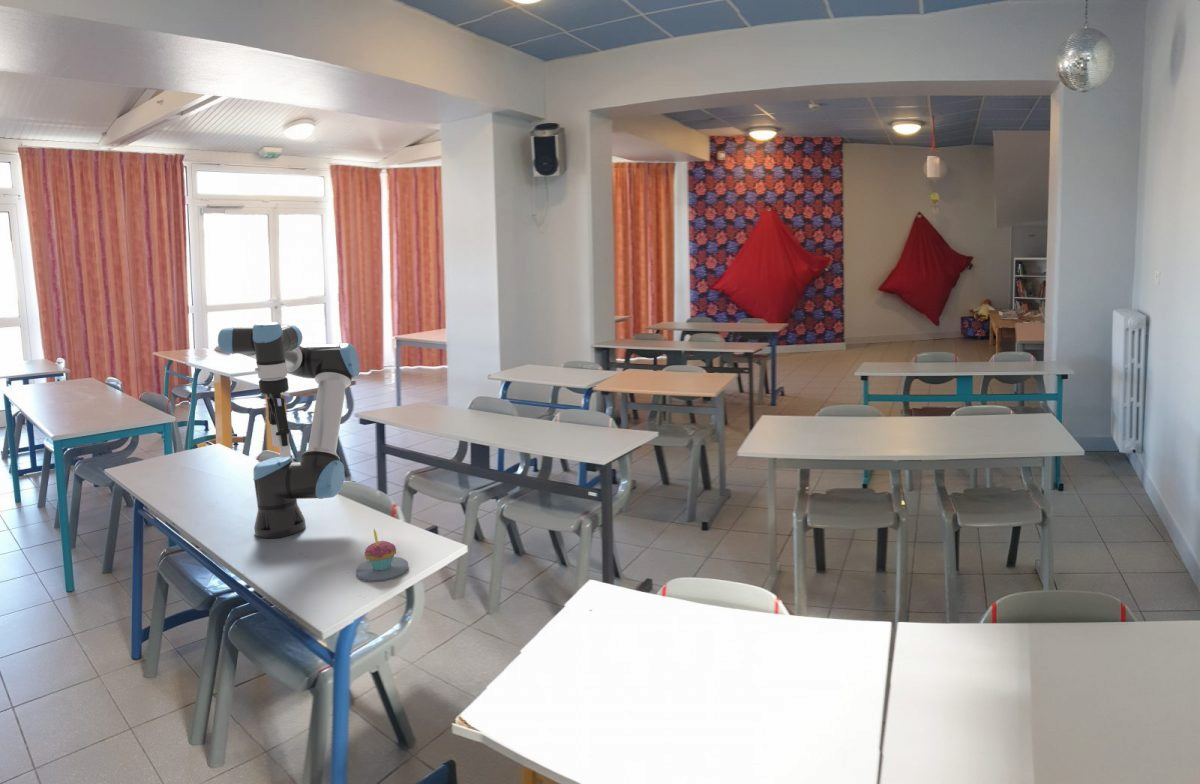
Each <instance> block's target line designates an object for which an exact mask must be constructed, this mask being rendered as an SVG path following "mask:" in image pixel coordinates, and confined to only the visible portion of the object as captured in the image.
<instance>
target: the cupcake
mask: <svg viewBox="0 0 1200 784" xmlns="http://www.w3.org/2000/svg"><path fill="white" fill-rule="evenodd" d="M373 535H374V542H373V543H371V544H369V545H368V546H367V547H365V550H364V557H365V559H366V561H370V563H371V565H372V567H373V569H374V570H386V569H388V568H390V566H391V562H392V559H393V557H395V555H396V554H397V548H396V545H395V544H394V543H391V542H389V541H386V540H380V541H379V539H378V534H377V530H376V529H375V528H373Z"/></svg>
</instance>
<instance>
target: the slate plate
mask: <svg viewBox="0 0 1200 784" xmlns="http://www.w3.org/2000/svg"><path fill="white" fill-rule="evenodd" d="M408 571H409V562H408V560H406V559H405V558H402V557H399V556H394V557H393V559H392V562H391V566H390V568H388V569H386V570H374V569H373V567H372V565H371V563H370V561H369V560H366V561H364V562H362V563H361V564H359V565H358V566H357V567H356V570H355V574H356V577H357V579H359V580H360V581H363V582H366V583H367V582H368V583H380V582H387V581H391V580H394V579H397V578H399V577H402V576H403V575H405V574H406V573H407V572H408Z"/></svg>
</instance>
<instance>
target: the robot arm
mask: <svg viewBox="0 0 1200 784" xmlns="http://www.w3.org/2000/svg"><path fill="white" fill-rule="evenodd" d="M302 341H303V333H302V331H301V330H300V328H298V327H297V326H296V325H294V324H289V323H288V324H282V325H281V323H279V322H277V321H276V322H275V321H268V322H267V321H266V322H261V323H255V324H254V325H253V326H249V327H248V326H246V327H244V326H243V327H242V326H241V327H239V326H238V327H234V326H232V327H224V328H222V329H221V330H220V331H219V333H218V335H217V344H218V348H219V349H220V351H221V352H222V353H223V354H232V355H235V354H240V355H243V356H245V357H249V358H252V359H255V360H256V366H257V367H255V368H254V371H255V372H257V377H258V379H259V380H258V387H259V388H258V389H259V393H260V394H262V395H266V397H267V399H266V401H267V411H268V413H267V415H268V421H269V424H270V425H269V426H270V433H271V434H270V435H271V443H272V447H273V448H279V456H275V457H270V458H268V459H266V460H262V461H260V462H258V463H256V465H254V466H253V482H254V490H255V497H256V504H257V512H256V517H255V522H254V534H255V536H256V537H259V538H262V539H276V538H277V539H278V538H283V537H288V536H292V535H294V534H298V533H300V532H301V531H303V530H304V529H305V528H306V518H305V516H304V514H303V512H302V511H301V509H300V506H299V505H298V500H303V499H304V500H305V499H307V500H308V499H320V500H323V499H330V498H334V497H336V496H337V495H338V494H340V491H342V487H343V484H344V482H345V475H346V474H345V470H346V469H345V465H344V463H343V462H342V461H341V458H340V456H339V455H338V454H337V449H338V448H337V447H338V440H339V435H340V427H341V423H342V422H341V421H342V415H343V414H342V412H343V408H344V399H345V393H346V389H347V388H349V387H350V386H351V385H352V379H355V378H358V377H359V375H360V371H361V369H360V368H361V367H360V366H361V365H360V360H359V359H360V358H359V356H358V352H357V350H356V348H355V346H354V345H352V344H351V343H345V342H344V343H341V342H338V343H312V344H311V343H310V344H309V343H308V344H302ZM288 375H292V376H295V377H299V378H305V379H314V381H315V382H316V383H317V384H318V386H317V393H316V399H315V405H314V411H313V417H312V423H311V429H310V435H309V441H308V446H307V450H306V451H304V452H303V453H302V454H301V459H300V461H293V460H294V459H293V458H292V453H291V445H290V436H289V433H290V428H289V423H288V417H287V412H286V407H285V399H284V397H282V396H281V395H282V393H285V392H288V391H289V380H288V379H289V378H287V377H286V376H288Z"/></svg>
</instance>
